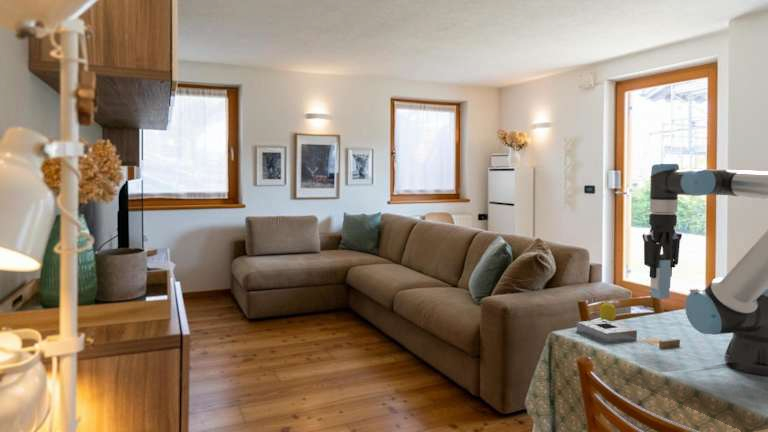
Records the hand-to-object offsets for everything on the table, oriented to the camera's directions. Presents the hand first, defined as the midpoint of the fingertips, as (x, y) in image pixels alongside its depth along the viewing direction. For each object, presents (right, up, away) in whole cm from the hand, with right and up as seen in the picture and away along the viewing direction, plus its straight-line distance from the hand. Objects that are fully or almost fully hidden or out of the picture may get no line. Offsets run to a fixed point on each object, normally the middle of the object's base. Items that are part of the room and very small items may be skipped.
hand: (660, 287), depth 162 cm
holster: (0, -19, +1) cm, 19 cm away
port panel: (-13, -18, +9) cm, 24 cm away
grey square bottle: (0, -3, 0) cm, 3 cm away
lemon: (-5, -17, +27) cm, 32 cm away
